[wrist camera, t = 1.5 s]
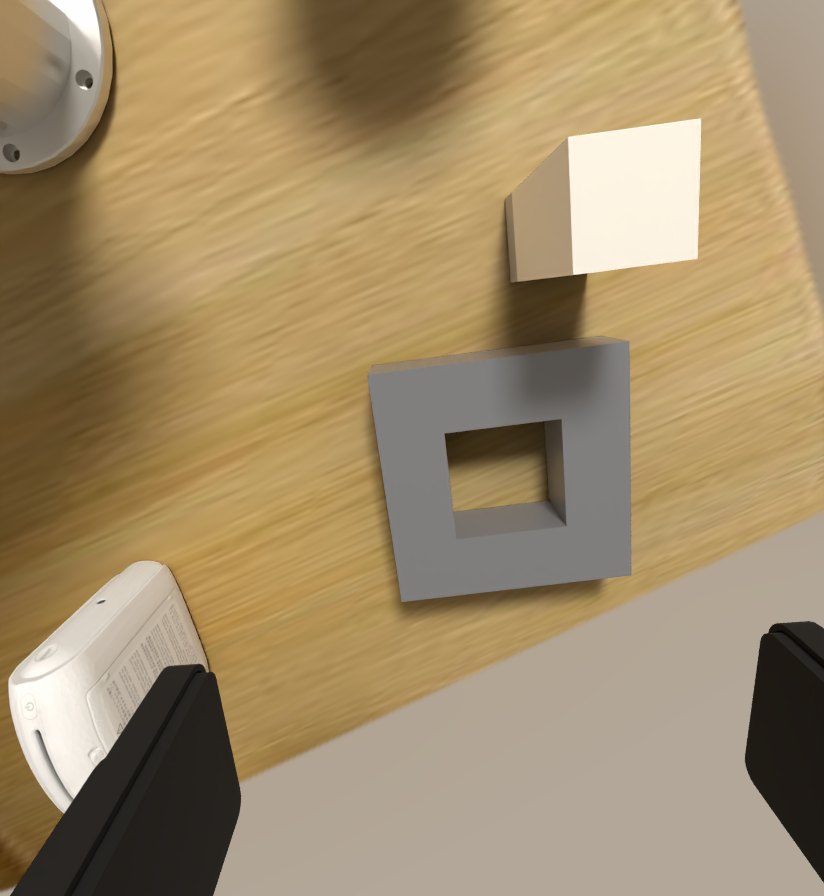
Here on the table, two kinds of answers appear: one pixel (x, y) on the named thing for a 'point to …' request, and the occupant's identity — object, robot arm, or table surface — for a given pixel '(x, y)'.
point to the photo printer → (98, 675)
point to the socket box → (521, 525)
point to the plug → (608, 203)
